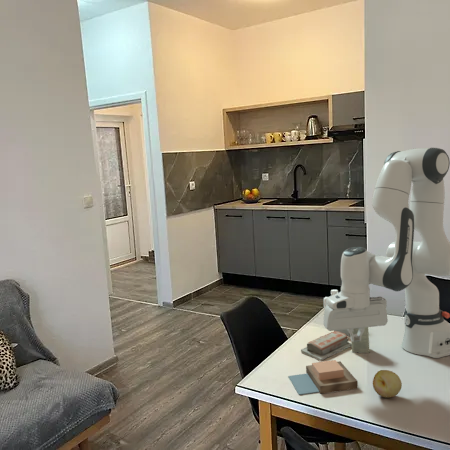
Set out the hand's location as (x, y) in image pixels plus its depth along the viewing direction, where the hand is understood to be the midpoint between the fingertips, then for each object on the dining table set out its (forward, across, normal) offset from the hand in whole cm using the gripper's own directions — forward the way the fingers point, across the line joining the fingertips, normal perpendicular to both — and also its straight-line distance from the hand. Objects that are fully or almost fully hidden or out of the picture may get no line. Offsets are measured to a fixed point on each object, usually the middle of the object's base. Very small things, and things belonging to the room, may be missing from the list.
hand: (355, 340), depth 145 cm
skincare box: (+12, -10, -18) cm, 24 cm away
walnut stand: (+13, +8, 0) cm, 15 cm away
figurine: (+12, -10, -45) cm, 48 cm away
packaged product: (+13, +2, -23) cm, 27 cm away
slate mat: (+13, +17, 0) cm, 22 cm away
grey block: (+12, -10, -34) cm, 38 cm away
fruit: (+13, -4, +13) cm, 19 cm away
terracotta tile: (+10, +10, 0) cm, 14 cm away
